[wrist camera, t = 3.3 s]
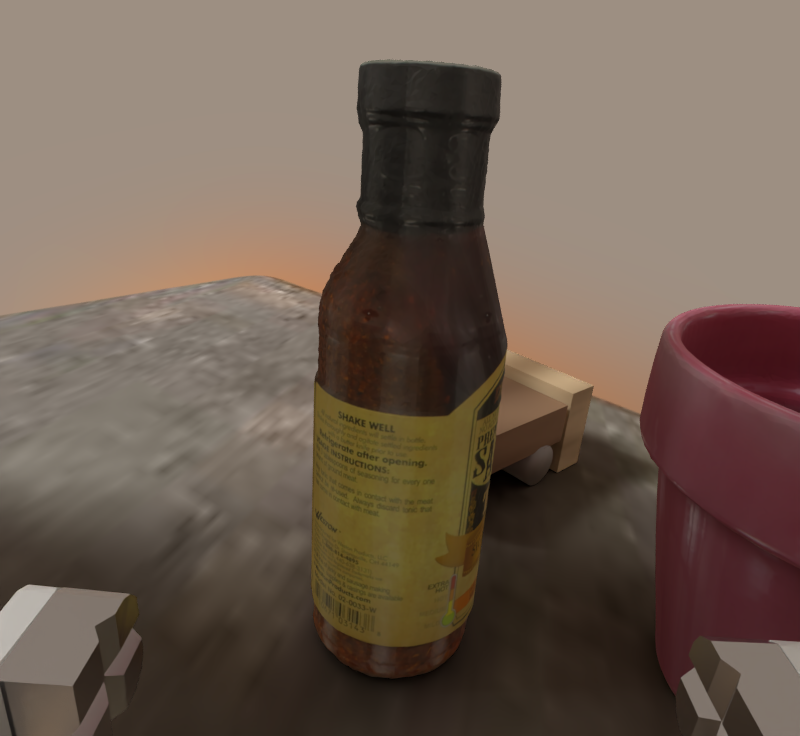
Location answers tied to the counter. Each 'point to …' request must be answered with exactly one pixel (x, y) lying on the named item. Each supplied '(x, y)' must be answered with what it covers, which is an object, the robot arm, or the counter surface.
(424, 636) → the sauce bottle
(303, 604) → the counter surface
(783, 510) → the plant pot
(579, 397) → the roller board
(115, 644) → the robot arm
